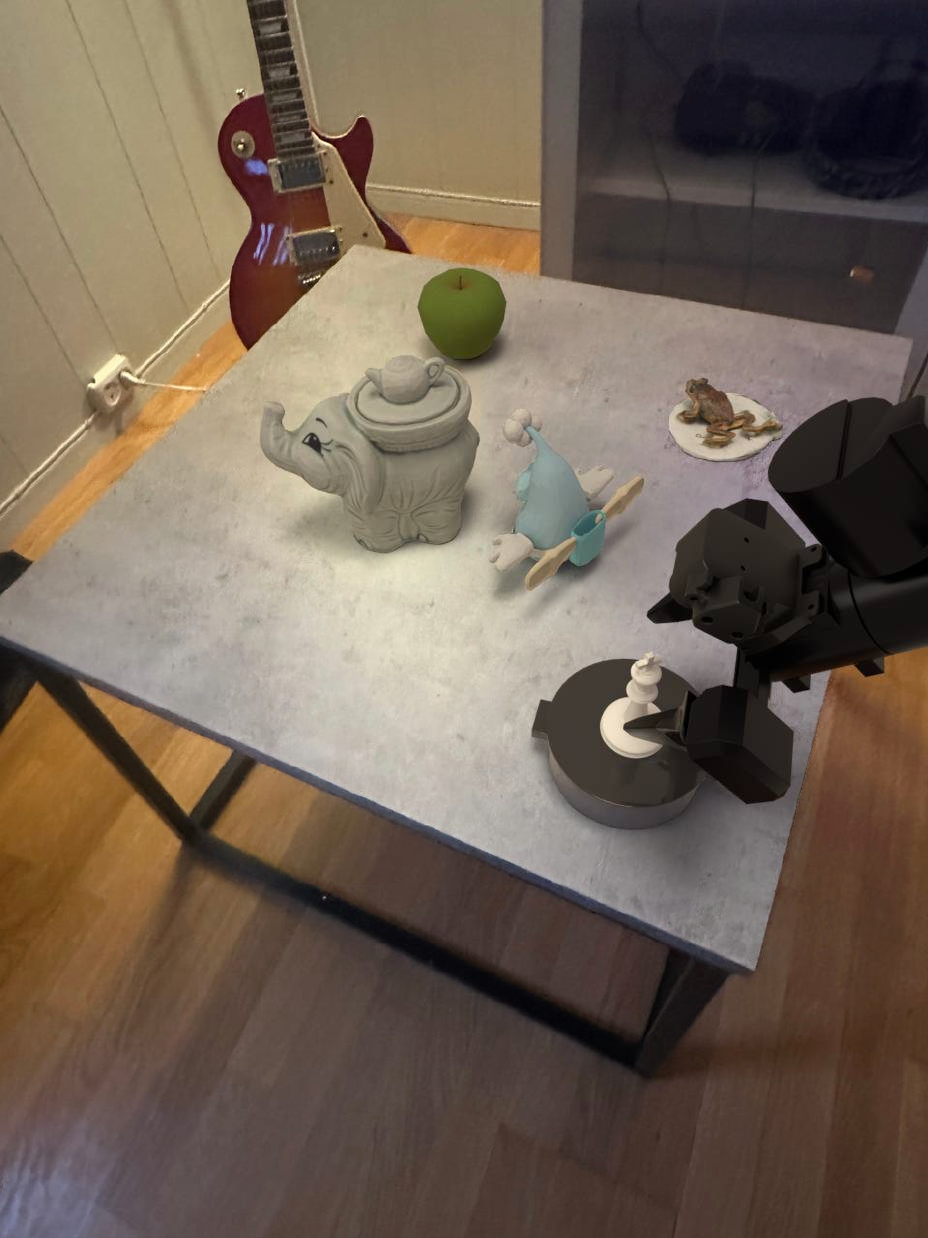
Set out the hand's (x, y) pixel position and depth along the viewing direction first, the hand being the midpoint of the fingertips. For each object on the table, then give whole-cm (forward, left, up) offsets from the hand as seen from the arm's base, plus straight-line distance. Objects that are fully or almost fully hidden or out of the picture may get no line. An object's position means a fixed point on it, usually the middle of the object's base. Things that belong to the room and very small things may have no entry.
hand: (639, 671), depth 51 cm
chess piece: (0, 0, -8) cm, 8 cm away
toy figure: (+11, -20, -13) cm, 27 cm away
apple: (+29, -50, -13) cm, 60 cm away
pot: (0, 0, -13) cm, 13 cm away
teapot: (+28, -20, -13) cm, 37 cm away
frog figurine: (-3, -42, -13) cm, 45 cm away
